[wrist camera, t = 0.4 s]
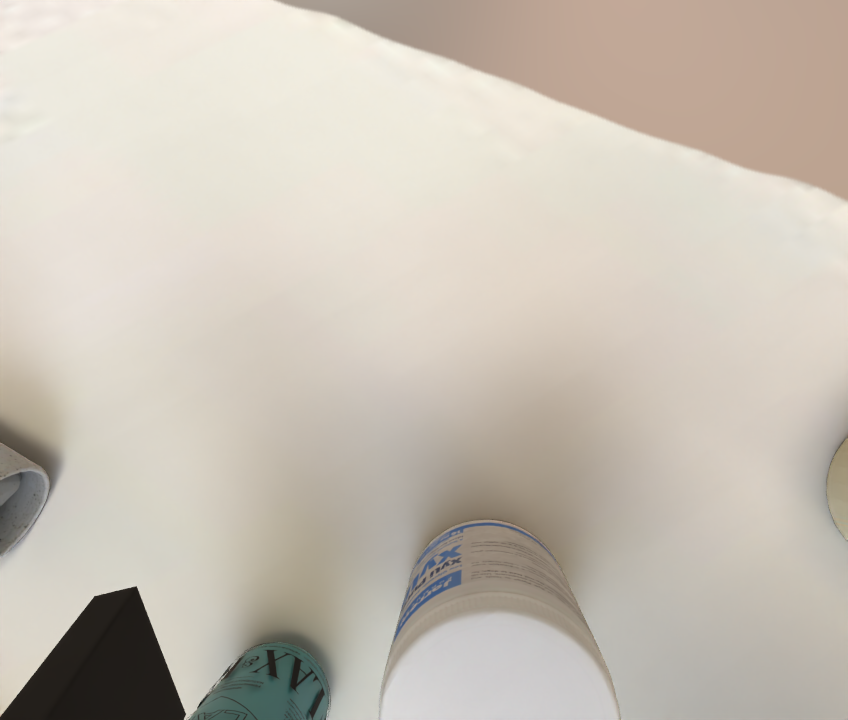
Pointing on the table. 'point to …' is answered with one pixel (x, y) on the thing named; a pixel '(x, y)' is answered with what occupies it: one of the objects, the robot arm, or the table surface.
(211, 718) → the beverage bottle
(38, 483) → the ceramic mug
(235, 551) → the table surface
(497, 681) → the supplement tub
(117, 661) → the robot arm
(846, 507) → the reusable coffee cup
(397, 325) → the table surface
